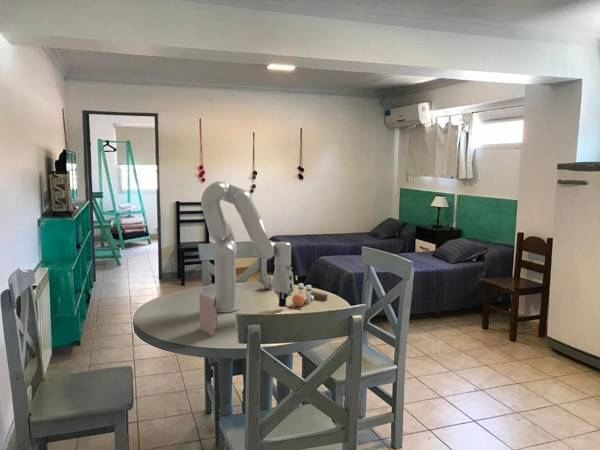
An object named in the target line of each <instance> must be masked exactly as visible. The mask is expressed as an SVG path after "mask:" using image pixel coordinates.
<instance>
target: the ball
mask: <svg viewBox="0 0 600 450" xmlns="http://www.w3.org/2000/svg"><path fill="white" fill-rule="evenodd" d="M292 296H293V297H292V298H291V299H292V300H291V301H292V304H293V305H294V306H296V307H301V306H303V305H304V304H305V303H304V301H305V299H304V298H305V297H304V294H303V295H301V294H298V293H296V294H294V295H292Z"/></svg>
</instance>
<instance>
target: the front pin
mask: <svg viewBox="0 0 600 450" xmlns="http://www.w3.org/2000/svg"><path fill="white" fill-rule="evenodd" d="M304 299H305V301H304V304H306V296H305V297H304ZM311 301H314V296H313V295H311Z"/></svg>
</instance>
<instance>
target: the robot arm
mask: <svg viewBox="0 0 600 450" xmlns="http://www.w3.org/2000/svg"><path fill="white" fill-rule="evenodd" d="M221 201H223V202H226V203H228V204H231V205H233V206H234V208H235V209H236V212H237V214H238V216H239V217H240V219H241V222H242V223H243V225H244V228H245V230H246V232H247V235H248V236H249V239H250V240H251V241H250V242H251V243H252V245H253V247H254V249H255V251H256V253H257V255H258V256H259V258H261V259H263V260H265V261H267V260H270V259H272V258H273V257H274V271H273V273H272V274H273V275H272V276H273V288H272V290H273V293H275V294H276V295H277V298H278V304H279V305H278V307H281V308H283V307H286V306H287V298H288V297H291V296H293V292H294V290H295V289H294V288H295V287H294V286H295V284H294V283H295V281H294V272H293V271H292V270H293V267H292V266H291V265H292V244H291V243H290V242H288V241H271V240H270V239H269V237H268V235H267V233H266V230H265V228H264V222H263V219H262V216H261V214H260V213H259V211H258V210H257V209H258V208H257V207H256V205H255V203H254V201H253V199H252V195H251V193H250V192H249V191H248V190H246V189H243V188H240V187H237V186H235V185H232V184H229V183H227V182H224V181H215V182H212V183H211V184H209V185H208V186H207V187H206V188H205V190H204V191H203V193H202V195H201V200H200V202H201V203H200V205H201V208H202V212H203V217H204V220H205V223H206V226H207V230H208V233H209V236H210V238H211V239H212V240H214V242H215V243H214V244H215V246H216V247H215V250H214V254H213V260H214V295H215V294H216V296H217V297H216V309H217V313H222V312H223V313H226V314H227V313H233V312H237V311H239V309H240V306H239V304H237V303H236V302H237V301H236V299H237V298H236V290H237V289H236V285H237V284H236V283H237V281H236V280H237V279H236V278H237V277H236V255H237V252H238V246H237V243H236V239H235V237H234V232H233V230H232V226H231V224H230V223H229V222H228V220H226V219H225V216H224V213H223V209H222V207H221ZM223 313H222V314H223Z"/></svg>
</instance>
